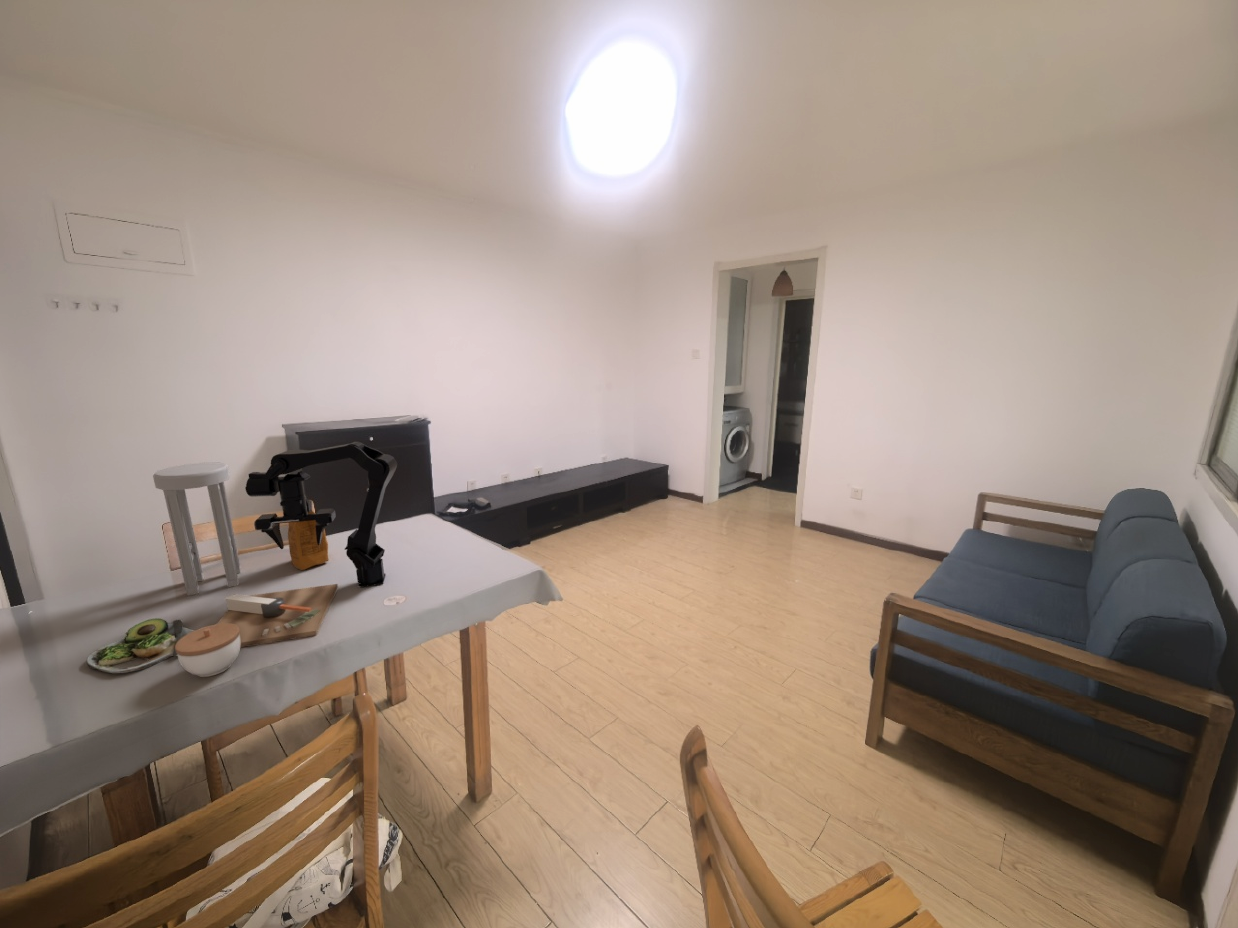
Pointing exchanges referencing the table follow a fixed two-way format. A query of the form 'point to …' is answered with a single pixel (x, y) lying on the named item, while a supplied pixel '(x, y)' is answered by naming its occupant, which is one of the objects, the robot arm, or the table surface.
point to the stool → (179, 514)
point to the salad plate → (140, 646)
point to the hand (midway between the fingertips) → (300, 546)
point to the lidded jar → (209, 649)
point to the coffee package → (306, 544)
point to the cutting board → (284, 616)
